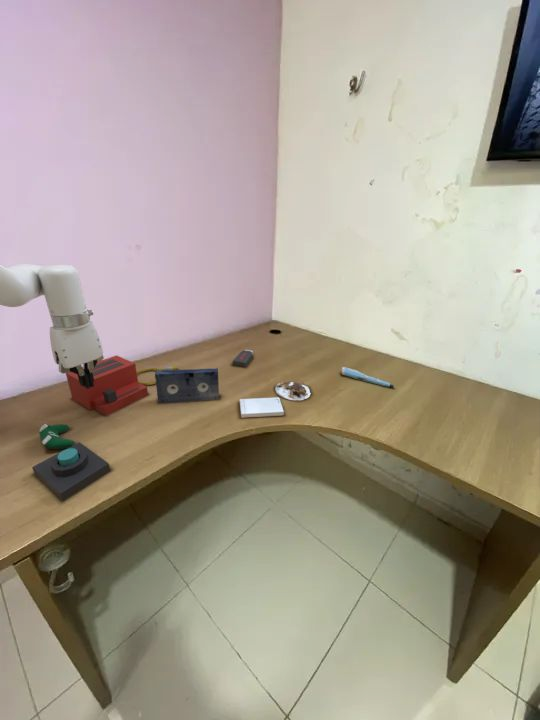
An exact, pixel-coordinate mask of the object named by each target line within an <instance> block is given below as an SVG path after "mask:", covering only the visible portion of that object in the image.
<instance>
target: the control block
mask: <svg viewBox="0 0 540 720" xmlns="http://www.w3.org/2000/svg"><path fill="white" fill-rule="evenodd" d="M70 448H74V449H76V450H77V452H78V455H79V459H78V461H77V462H75V463H73V464H72V465H68V466H61V465H60V464H59V461H58V454H59V453H60V452H58V453H56V454H54V455H52V456H50V457H48V458H46V459H44V460H43V461H41V462H39V463H37V464H35V465H33V466H31V468H32V472H33V474H34V476H36V478H37V479H39V480H40V481H41V483H43V484H44V485H45V486H46V487H47V488H48V489H49V490H50V491H51V492H52V493H54V495H55V496H57V498H58V499H59V500H61V501H62V502H65V501H66V500H68V499H69V498H71V497H72V496H74V495H75V494H77V493H78V492H80V491H81V490H83V489H84V488H86V487H87V486H89V485H91V484H92V483H93V482H96V481H98V479H101V478H102V477H103V476H104V475H107V474H108V473H109V472H111V468H110V464H109V462H107V461H106V460H105V459H104V458H103V457H101V456H99V455H98V454H97V453H96V452H94V451H92V450H91V449H90V448H88V447H87V446H86V445H85V444H83V443H81V441H79V442H77V443H74V445H73V446H71V447H69V448H66V449H70Z"/></svg>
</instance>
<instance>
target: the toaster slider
mask: <svg viewBox="0 0 540 720" xmlns="http://www.w3.org/2000/svg"><path fill="white" fill-rule="evenodd" d="M103 395H104V400H105V401H106V402H108V403H112V402H114V401H116V400H117V396H116V391H115V390H113V389H108V390H106V391H104V392H103Z"/></svg>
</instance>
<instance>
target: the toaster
mask: <svg viewBox="0 0 540 720" xmlns="http://www.w3.org/2000/svg"><path fill="white" fill-rule="evenodd" d="M82 368H83V366H82ZM83 370H84V368H83ZM137 372H138V371H137V367H136V363H135V362H133V361H131V360H128V359H126V358H124V357H122V356H119V355H114V356H110V357H107V358H105V359H103V360H101V361H100V362H97V364H96V365H95V367H94V371H93V372H92V373H93V377H94V382H93V383H94V386H93V387H90V388H89V389H87V388H85V387H84V386H81V385H80V383H79V379H78V375H77V374H75V373H73V372H70V373H65V376H66V380H67V383H68V387H69V391H70V394H71V395H70V396H71V398H72V400H73V401H75V402H76V403H78V404H79V405H81V406H83V407H84V408H86V409H88V410H89V411H92V410H95V411H97V412H99V413H101V414H102V415H103V416H106V417H107V416H109V415H111V414H113V413H115V412H117V411H119V410H121V409H123V408H125V407H127V406H129V405H131V404H133V403H135V402H137V401H139V400H142V399H143V398H145V397H147V396H149V391H148V386H144V385H142V384H141V383H138V382H139V379H138V375H137V374H138V373H137ZM108 389H113V390H115V391H116V396H117V400H116V401H114V402H112V403H108V402H106V401H105V400H104V395H103V392H104V391H106V390H108Z"/></svg>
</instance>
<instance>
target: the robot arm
mask: <svg viewBox="0 0 540 720" xmlns="http://www.w3.org/2000/svg"><path fill="white" fill-rule="evenodd" d="M41 296H44V298H45V303H46V306H47V309H48V312H49V316H50V319H51V323H52V326H50V327H49V340H50V341H49V342H50V347H51V352H52V356H53V360H54V363H55V364H56V365H58V372H59V373H61V374H62V375H63V374H66V373H70V372H73V373H75V374H77V375H78V379H79V383H80V385H81V386H84V387H85V388H87V389H89V388H90V387H93V386H94V383H93V382H94V377H93V373H92V372H93V371H94V367H95V365H96V364H97V362H100V361H101V360H104V358H105V356H104V350H103V346H102V341H101V339H100V336H99V332H98V330H97V328H96V326H95V324H94V322H93V321H92V320H91V318H90V317H91V316H94V311H93V310H92V309H87V308H88V307H87V304H86V299H85V296H84V291H83V286H82V283H81V278H80V274H79V272H78V269H77V268H76V267H75V266H73V265H70V264H51V265H42V264H32V263H16V264H13V265H10V266H7V267H5V266H3V265H2V264H0V306H3V307H7V308H19V307H22V306H24V305H26V304H28V303H29V302H31V301H33V300H34V299H37V298H39V297H41ZM82 367H83V368H84V370H83V368H82Z"/></svg>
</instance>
